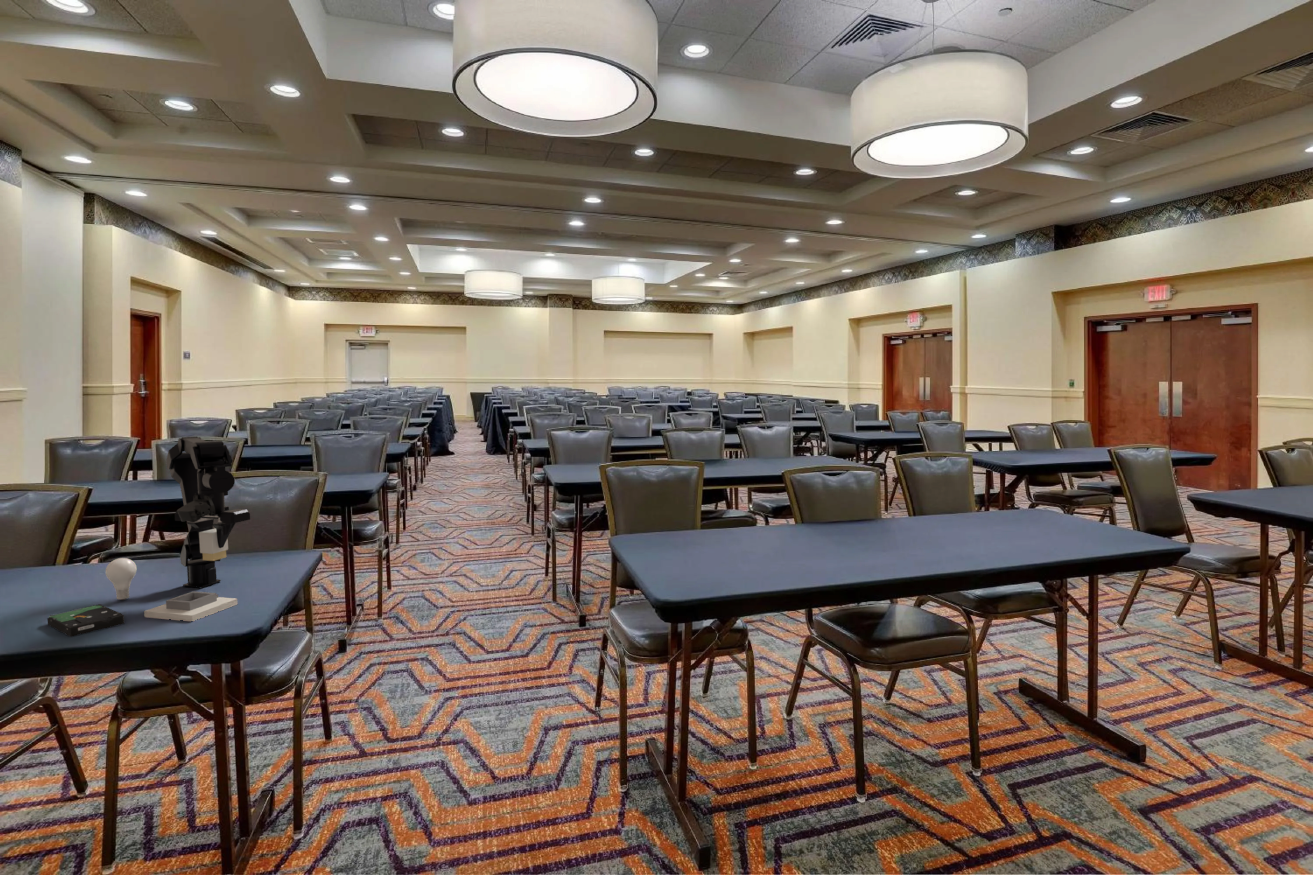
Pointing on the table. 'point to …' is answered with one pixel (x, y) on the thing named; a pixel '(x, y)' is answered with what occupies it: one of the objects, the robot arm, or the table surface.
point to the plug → (211, 546)
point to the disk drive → (85, 620)
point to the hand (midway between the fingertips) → (214, 547)
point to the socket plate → (191, 606)
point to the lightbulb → (121, 576)
